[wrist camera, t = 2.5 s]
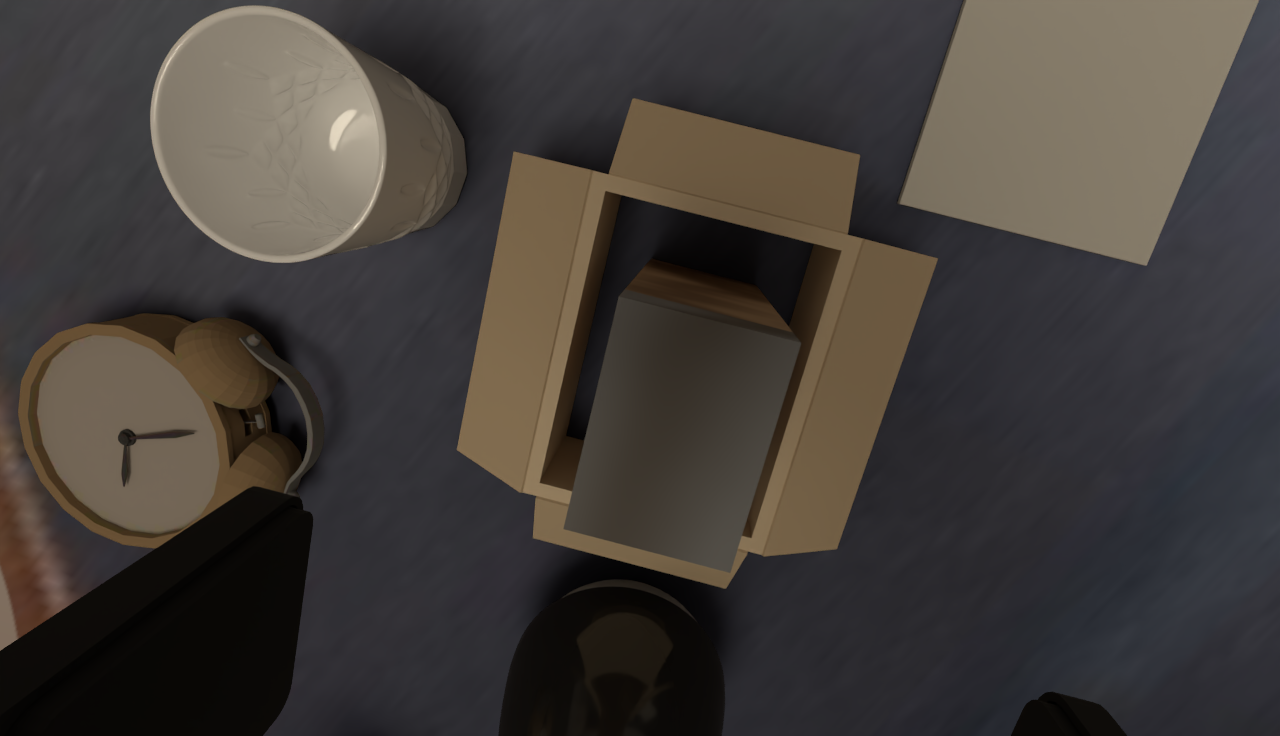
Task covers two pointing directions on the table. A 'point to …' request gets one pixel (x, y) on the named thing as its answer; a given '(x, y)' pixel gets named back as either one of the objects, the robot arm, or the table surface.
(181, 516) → the alarm clock
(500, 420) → the carton
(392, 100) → the white cup
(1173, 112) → the mat
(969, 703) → the table surface
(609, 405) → the walnut box
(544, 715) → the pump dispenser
